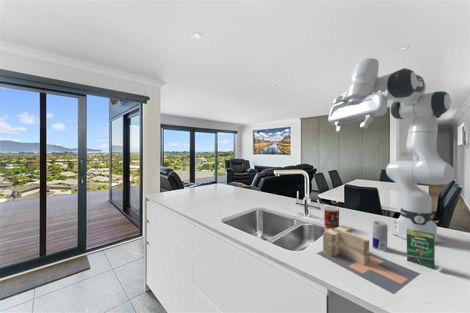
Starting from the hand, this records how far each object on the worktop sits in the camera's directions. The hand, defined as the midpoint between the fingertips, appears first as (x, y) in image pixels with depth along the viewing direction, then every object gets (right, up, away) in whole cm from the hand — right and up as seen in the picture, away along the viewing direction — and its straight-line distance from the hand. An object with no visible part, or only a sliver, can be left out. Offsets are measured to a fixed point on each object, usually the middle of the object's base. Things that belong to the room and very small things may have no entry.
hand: (350, 130), depth 72 cm
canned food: (+14, -51, +44) cm, 69 cm away
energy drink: (+23, -52, +18) cm, 59 cm away
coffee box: (+30, -52, +5) cm, 60 cm away
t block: (+6, -51, +12) cm, 53 cm away
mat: (+9, -52, +6) cm, 53 cm away
